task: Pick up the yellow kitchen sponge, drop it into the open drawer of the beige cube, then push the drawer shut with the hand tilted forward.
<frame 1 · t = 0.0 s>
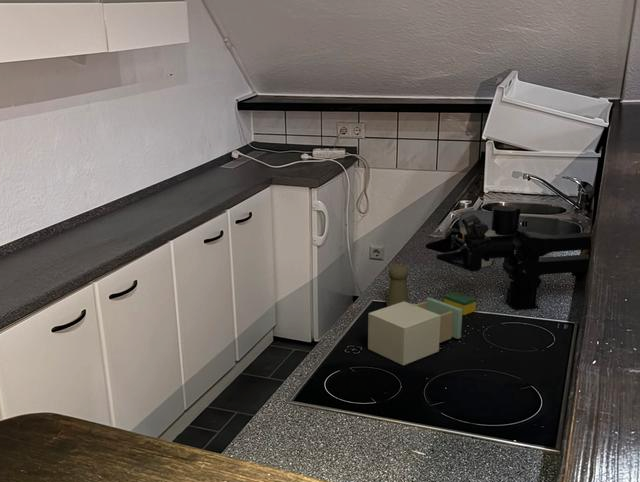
hand: (431, 251, 193), 17 cm above the countertop, tool horizontal, fingers open, 9 cm apart
reusable coffee cup: (476, 263, 235), on the countertop
sponge: (459, 309, 200), on the countertop
drawer: (431, 322, 181), point 5 cm above the countertop, slide at 7.0 cm
beige cube: (403, 350, 178), on the countertop
olive brown pawn: (397, 305, 204), on the countertop
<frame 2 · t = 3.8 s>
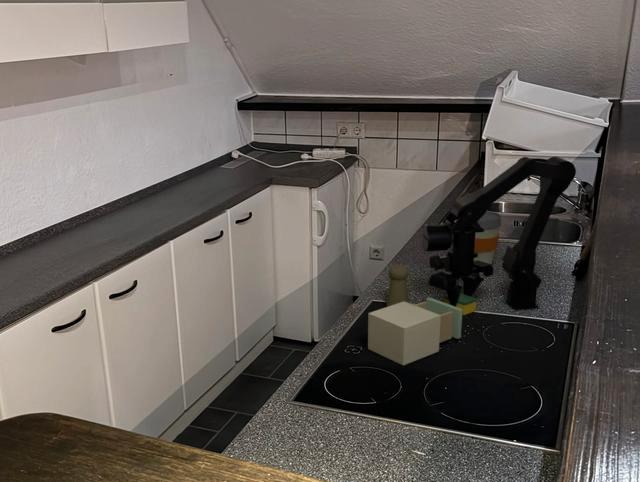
hand: (459, 305, 200), 1 cm above the countertop, tool pointing down, fingers closed on sponge, 4 cm apart
sponge: (459, 309, 200), on the countertop, touching gripper
everything else where it was.
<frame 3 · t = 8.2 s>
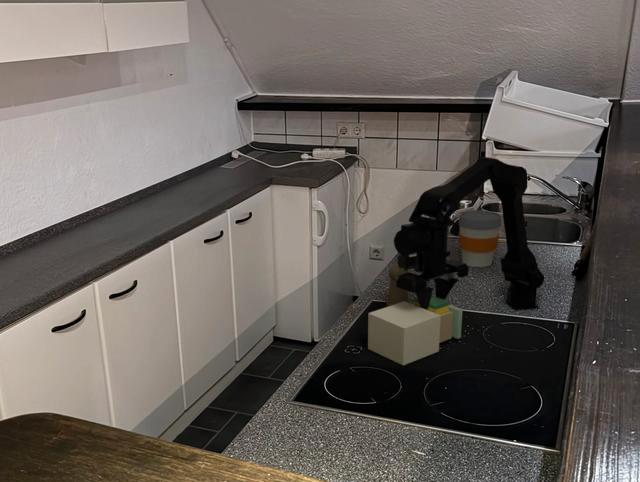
hand: (431, 309, 180), 8 cm above the countertop, tool pointing down, fingers closed on sponge, 4 cm apart
sponge: (430, 313, 180), point 7 cm above the countertop, touching gripper
everything else where it was.
when the fingers open (9 cm above the countertop, at t = 13.6 s): sponge drops 6 cm, resting on drawer.
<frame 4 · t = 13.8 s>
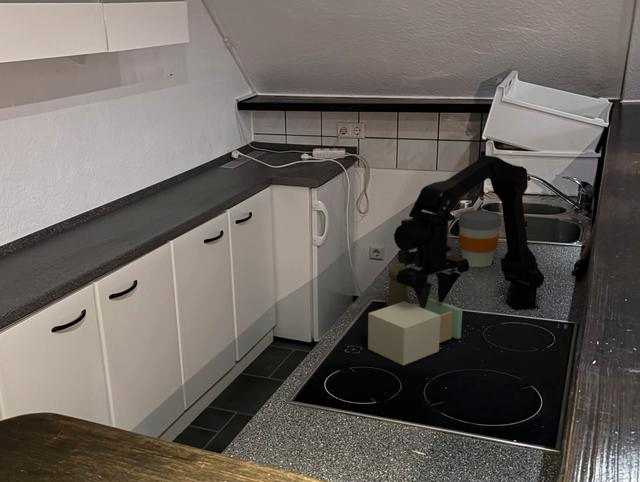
hand: (431, 305, 180), 9 cm above the countertop, tool pointing down, fingers open, 6 cm apart
sponge: (430, 331, 182), point 2 cm above the countertop, tilted 7°, touching drawer
drawer: (431, 322, 181), point 5 cm above the countertop, slide at 7.0 cm, touching sponge
everything else where it was.
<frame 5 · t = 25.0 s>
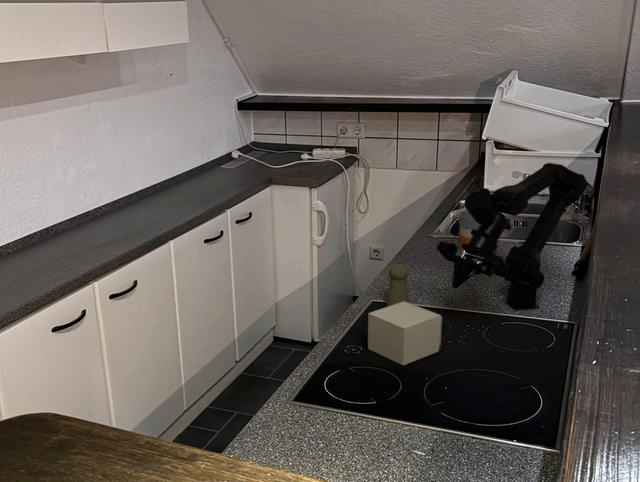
hand: (453, 287, 183), 12 cm above the countertop, tool tilted 45°, fingers closed
sponge: (409, 339, 178), point 2 cm above the countertop, touching drawer
drawer: (410, 329, 177), point 5 cm above the countertop, slide at 0.0 cm, touching beige cube, sponge
everything else where it was.
at the end: sponge inside the target area in the beige cube (2.2 cm from its centre), point 2.0 cm above the beige cube's base; drawer slide at 0.0 cm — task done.
